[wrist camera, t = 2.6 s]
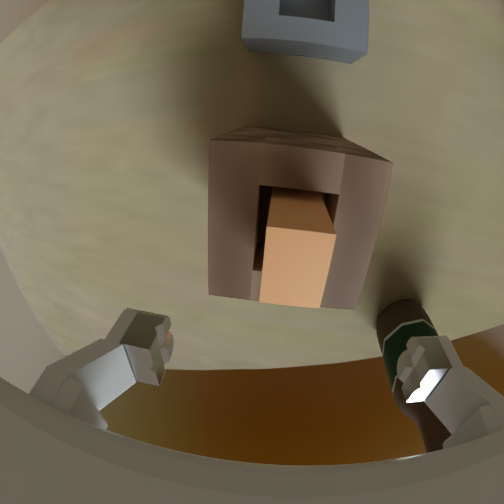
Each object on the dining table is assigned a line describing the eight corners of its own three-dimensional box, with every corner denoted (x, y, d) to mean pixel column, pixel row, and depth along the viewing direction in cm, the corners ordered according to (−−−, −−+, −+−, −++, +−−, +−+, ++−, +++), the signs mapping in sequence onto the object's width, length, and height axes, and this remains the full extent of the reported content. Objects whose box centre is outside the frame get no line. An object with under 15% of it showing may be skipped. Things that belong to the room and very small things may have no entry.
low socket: (353, -15, 18) (367, -38, 12) (351, 63, 22) (367, 53, 17) (256, -27, 18) (249, -52, 13) (249, 51, 23) (240, 37, 18)
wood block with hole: (343, 138, 26) (393, 162, 14) (329, 228, 31) (355, 309, 19) (244, 126, 27) (209, 140, 14) (238, 218, 32) (208, 294, 19)
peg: (317, 186, 19) (336, 234, 12) (309, 239, 21) (319, 308, 14) (273, 181, 19) (266, 226, 12) (268, 234, 21) (259, 302, 14)
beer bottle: (366, 314, 36) (405, 487, 15) (416, 287, 33) (489, 449, 12) (383, 346, 38) (416, 495, 17) (428, 323, 36) (483, 465, 15)
